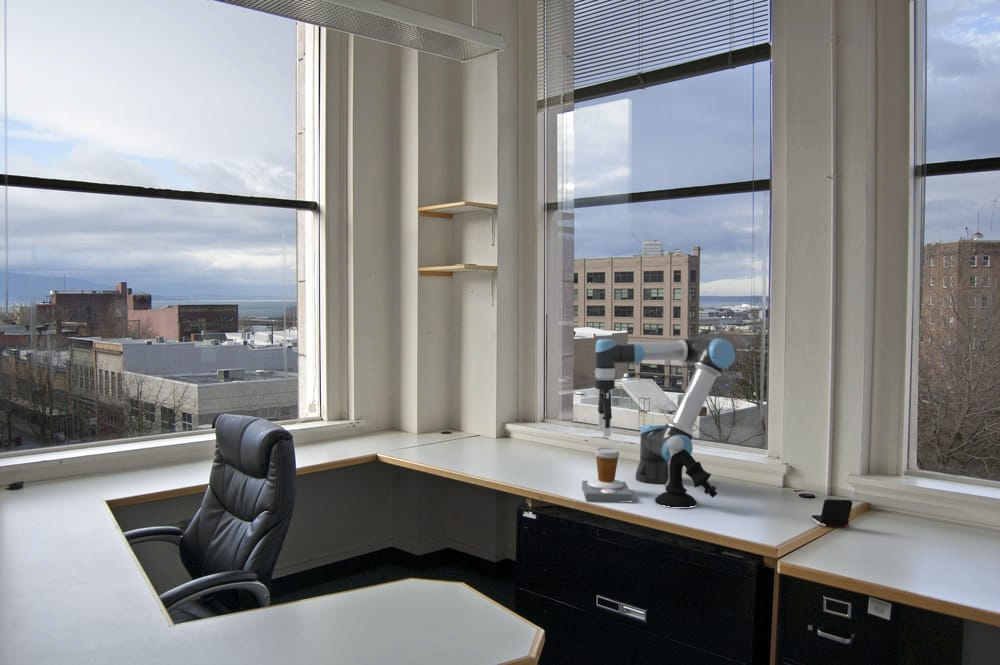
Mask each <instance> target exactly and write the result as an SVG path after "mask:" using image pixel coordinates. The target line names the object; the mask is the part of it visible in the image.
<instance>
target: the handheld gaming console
mask: <svg viewBox="0 0 1000 665" xmlns="http://www.w3.org/2000/svg"><path fill="white" fill-rule="evenodd" d="M853 504H854V503H853V501H852V500H851V499H833V498H832V499H829V498H827V499H824V500H823V505H822V509H821V514H820V515H819V514H818V515H817V514H812V515H811V518H812V517H813V518H814V519H816V520H817V521H819V522H820V523H824V524H826V527H825V528H849V524H850V523H849V522H850V520H849V519H850V517H851V516H850V515H851V511H852V508H853V507H852V506H853Z"/></svg>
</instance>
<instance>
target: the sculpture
mask: <svg viewBox="0 0 1000 665" xmlns="http://www.w3.org/2000/svg"><path fill="white" fill-rule="evenodd" d="M667 446H668V448H669V449H670V450H669V451H670V459H671V460H669V461H670V462H668V463H669V467H668V468H669V469H668V470H669V471H668V475H669V476H668V477H669V479H668V481H667V482H666V483H664V485H663V487H664V488H665V489H664V490H665V491H663V492H661V493H660V494H658V495H657V497H655V498H654V503H655V502H656V503H658V504H660V505H665V506H670V507H690V506H695V505H696V504H697V505H698V501H697V500H696V499H695V498H694V496H692V495H691V494H689V493H687V492H688V490H687V489H686V488H685V487H684V484H683V468H684V467H685V469H686V470H685V474H686V476H688V477H689V478H691V480H692V483H693V487H694V488H699V487H703V489H704V490H703V492H704V494H706V495H708V494H709V495H710V497H711V498H712V499H713V498H715V497H716V496H717V495H719V494H718V492H717V487H716V486H715V485H713V486H712V485H711V484H710V483H709V481H708V480H709V479H710V477H711V475H712V473H709V472H707V471H706V470H705V469H704V468H703V466H702V464H701V462H700V461H696V460H695V459H694V457H693V456H692V454H691V455H690V454H689V453H688V452H687V451H686V450H685V449H684V448H683V446H684V441H683V440H682V438H680V437H678V436H672V437H670V438H669V439H668V441H667ZM656 503H655V504H656ZM658 504H657V505H658ZM660 505H659V506H660Z"/></svg>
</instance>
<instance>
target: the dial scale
mask: <svg viewBox="0 0 1000 665" xmlns="http://www.w3.org/2000/svg"><path fill="white" fill-rule="evenodd" d="M581 489H582V493H583V492H584V493H583V496H584V499H585V501H586V502H592V501H632V502H633V493H632V491H631V489H630V488H629V487H628V484H627V483H626V481H621V480H618V479H615V480H614V481H613V482H602V481H599V480H598V478H593V479H589V480H581Z"/></svg>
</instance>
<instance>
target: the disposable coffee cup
mask: <svg viewBox="0 0 1000 665" xmlns="http://www.w3.org/2000/svg"><path fill="white" fill-rule="evenodd" d="M594 454H595V460H596V470H597V479H598V480H599V481H602V482H613V481H614V480H616V479H615V478H616V472H617V466H618V460H619V456H620V453H619V449H617V448H613V447H598V448H596V450H595V452H594Z"/></svg>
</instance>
